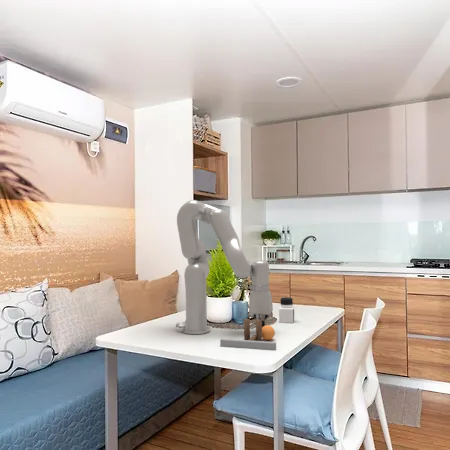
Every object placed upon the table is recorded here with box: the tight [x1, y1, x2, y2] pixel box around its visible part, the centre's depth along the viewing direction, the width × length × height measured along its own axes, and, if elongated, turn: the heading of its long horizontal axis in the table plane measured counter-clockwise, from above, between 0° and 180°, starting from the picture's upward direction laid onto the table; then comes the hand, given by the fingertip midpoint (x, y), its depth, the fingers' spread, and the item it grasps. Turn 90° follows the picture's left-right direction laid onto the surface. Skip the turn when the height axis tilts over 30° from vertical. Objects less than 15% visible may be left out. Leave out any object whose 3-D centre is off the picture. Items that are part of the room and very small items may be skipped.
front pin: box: [249, 334, 256, 341], centre depth 170 cm, size 2×2×9 cm
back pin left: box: [243, 318, 251, 340], centre depth 172 cm, size 2×2×9 cm
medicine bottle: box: [278, 296, 295, 324], centre depth 210 cm, size 7×7×12 cm
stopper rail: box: [219, 338, 277, 351], centre depth 163 cm, size 22×2×2 cm, turn 73°
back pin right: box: [255, 319, 263, 341], centre depth 171 cm, size 2×2×9 cm
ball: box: [262, 324, 276, 341], centre depth 174 cm, size 6×6×6 cm
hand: (261, 329), depth 187 cm, fingers closed
